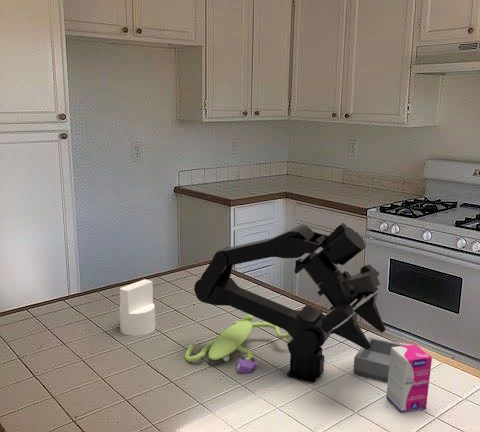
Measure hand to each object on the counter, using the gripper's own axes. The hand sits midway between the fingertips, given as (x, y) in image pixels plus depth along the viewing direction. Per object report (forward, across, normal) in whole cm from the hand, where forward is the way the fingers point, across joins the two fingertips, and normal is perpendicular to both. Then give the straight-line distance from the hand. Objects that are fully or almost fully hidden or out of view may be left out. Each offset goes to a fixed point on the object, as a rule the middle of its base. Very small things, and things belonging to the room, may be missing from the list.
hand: (376, 339), depth 109 cm
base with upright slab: (-35, -2, +53) cm, 63 cm away
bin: (+8, +12, +9) cm, 17 cm away
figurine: (-14, +3, +32) cm, 35 cm away
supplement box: (+14, 0, +4) cm, 14 cm away
